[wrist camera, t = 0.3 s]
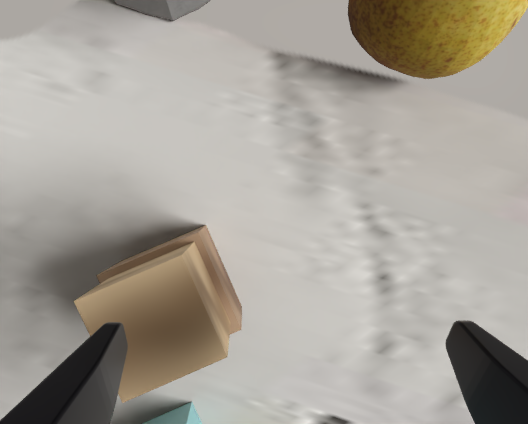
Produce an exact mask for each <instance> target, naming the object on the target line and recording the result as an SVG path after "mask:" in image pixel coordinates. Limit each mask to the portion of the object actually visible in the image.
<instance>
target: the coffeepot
mask: <svg viewBox="0 0 528 424" xmlns="http://www.w3.org/2000/svg"><path fill="white" fill-rule="evenodd" d="M209 1H210V0H115V2H116V4H119V5H122V6H125V7H128V8H131V9H134V10H136V11H139V12H141V13H144V14H146V15H151V16H156V17H163V18H166V19H169V20H173V21H174V20H176V19H178V18H180V17H182V16H184V15H186V14H188V13H190V12H193V11H195V10H198V9H199V8H201V7H202V6H204V5H205V4H207V3H208V2H209Z"/></svg>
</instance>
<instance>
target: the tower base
mask: <svg viewBox="0 0 528 424" xmlns="http://www.w3.org/2000/svg"><path fill="white" fill-rule="evenodd" d="M192 242H195V244H196V246H197V248H198V251H199V253H200V255H201V257H202V260H203V262H204V264H205V266H206V269H207V271H208V273H209V275H210V278H211V280H212V282H213V284H214V287H215V289H216V291H217V293H218V296H219V298H220V300H221V302H222V305H223V307H224V309H225V311H226V314H227V316H228V318H229V320H230V323H231V324H230V334H232V333H234V332H237V331H239V330H241V320H242V306H241V304H240V302H239V299H238V297H237V295H236V292H235V290H234V288H233V286H232V283H231V281H230V279H229V277H228V274H227V272H226V270H225V267H224V265H223V263H222V261H221V258H220V256H219V254H218V252H217V249H216V247H215V245H214V242H213V240H212V238H211V236H210V233H209V231H208V229H207V227H206V225H205V226H203V227H200V228H198V229H195V230H193V231H191V232H188V233H186V234H184V235H181V236H179V237H177V238H174V239H172V240H170V241H167V242H165V243H163V244H160V245H158V246H155V247H153V248H151V249H148V250H146V251H144V252H141V253H139V254H137V255H134V256H132V257H130V258H127V259H125V260H123V261H120V262H119V263H117V264H115V265H114V266H112V267H110V268H108V269H107V270H105V271H103V272H101V273H100V274H98V275H96V276H97V278H98V281H99V283H100V284H101V283H102V282H104V281H105V280H107V279H108V278H110V277H113V276H115V275H117V274H120V273H122V272H124V271H127V270H129V269H131V268H134V267H136V266H138V265H141V264H143V263H145V262H148V261H150V260H152V259H155V258H157V257H159V256H162V255H164V254H167V253H169V252H171V251H174V250H176V249H178V248H181V247H183V246H185V245H188V244H190V243H192ZM230 334H229V335H230Z"/></svg>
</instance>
